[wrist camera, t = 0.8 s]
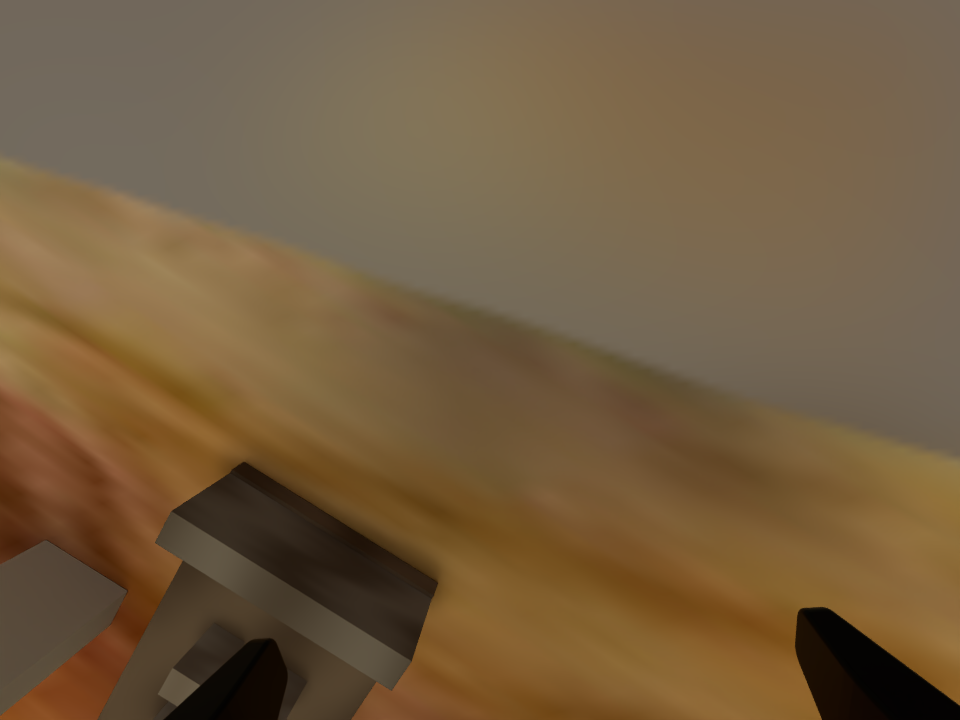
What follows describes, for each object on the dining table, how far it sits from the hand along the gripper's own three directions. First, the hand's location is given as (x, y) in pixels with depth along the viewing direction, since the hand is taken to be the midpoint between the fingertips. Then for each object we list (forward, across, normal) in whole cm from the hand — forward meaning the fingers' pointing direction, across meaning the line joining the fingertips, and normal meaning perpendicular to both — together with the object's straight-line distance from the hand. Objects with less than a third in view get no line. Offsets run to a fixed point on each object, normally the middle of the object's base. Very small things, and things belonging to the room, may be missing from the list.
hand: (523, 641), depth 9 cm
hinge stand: (+12, +17, +16) cm, 26 cm away
